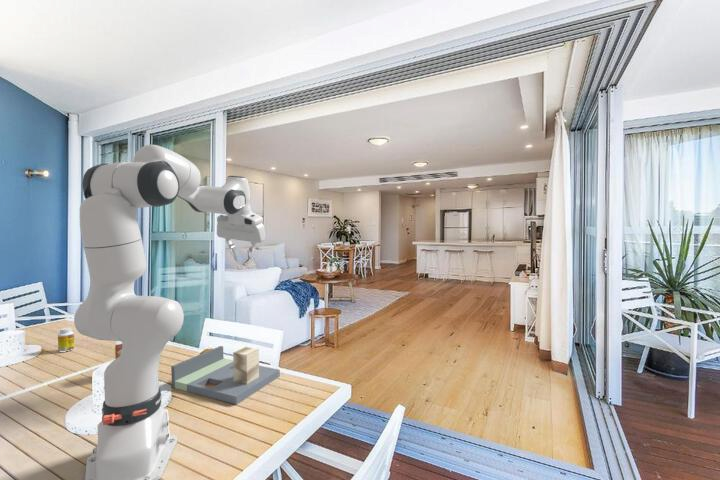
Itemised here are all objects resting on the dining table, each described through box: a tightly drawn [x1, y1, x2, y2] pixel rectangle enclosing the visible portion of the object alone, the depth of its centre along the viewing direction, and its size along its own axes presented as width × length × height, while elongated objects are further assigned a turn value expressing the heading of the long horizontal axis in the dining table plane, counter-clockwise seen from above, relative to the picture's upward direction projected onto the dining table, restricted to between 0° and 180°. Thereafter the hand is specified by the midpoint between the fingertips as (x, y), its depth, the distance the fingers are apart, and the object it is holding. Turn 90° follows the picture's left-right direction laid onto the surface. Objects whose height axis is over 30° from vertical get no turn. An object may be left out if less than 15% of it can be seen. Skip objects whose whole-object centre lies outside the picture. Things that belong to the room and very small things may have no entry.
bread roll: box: [198, 348, 213, 355], centre depth 143 cm, size 8×9×4 cm
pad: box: [174, 358, 233, 392], centre depth 126 cm, size 6×22×2 cm, turn 156°
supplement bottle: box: [57, 326, 75, 352], centre depth 154 cm, size 6×6×10 cm
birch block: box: [232, 346, 260, 384], centre depth 118 cm, size 6×6×10 cm
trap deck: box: [170, 345, 281, 406], centre depth 121 cm, size 30×22×8 cm
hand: (241, 249), depth 136 cm, fingers open, 8 cm apart
